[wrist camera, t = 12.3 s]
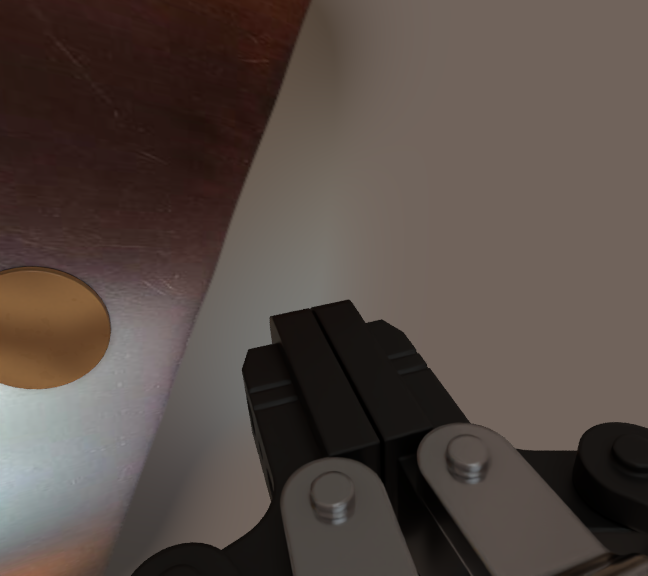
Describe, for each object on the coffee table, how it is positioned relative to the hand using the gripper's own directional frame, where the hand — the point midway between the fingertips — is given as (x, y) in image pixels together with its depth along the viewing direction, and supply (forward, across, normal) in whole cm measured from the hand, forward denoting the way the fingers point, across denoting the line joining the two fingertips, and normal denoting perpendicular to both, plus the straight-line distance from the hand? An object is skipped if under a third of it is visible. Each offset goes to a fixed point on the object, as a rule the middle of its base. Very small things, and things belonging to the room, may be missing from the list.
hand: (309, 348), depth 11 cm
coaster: (+27, +12, +14) cm, 33 cm away
